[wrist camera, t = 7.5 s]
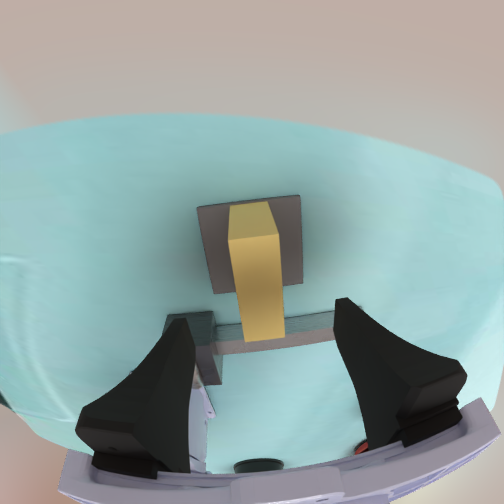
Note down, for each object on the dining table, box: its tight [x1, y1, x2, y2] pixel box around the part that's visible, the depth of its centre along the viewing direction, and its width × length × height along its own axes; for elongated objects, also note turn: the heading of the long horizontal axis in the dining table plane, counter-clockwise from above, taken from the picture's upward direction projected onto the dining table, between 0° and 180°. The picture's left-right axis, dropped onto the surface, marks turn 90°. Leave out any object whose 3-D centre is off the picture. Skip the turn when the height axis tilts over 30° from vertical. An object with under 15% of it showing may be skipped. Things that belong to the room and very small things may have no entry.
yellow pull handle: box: [228, 201, 285, 342], centre depth 18 cm, size 7×2×6 cm, turn 6°
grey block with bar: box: [162, 306, 363, 389], centre depth 22 cm, size 5×17×5 cm, turn 96°
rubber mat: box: [197, 195, 303, 294], centre depth 20 cm, size 7×7×1 cm
